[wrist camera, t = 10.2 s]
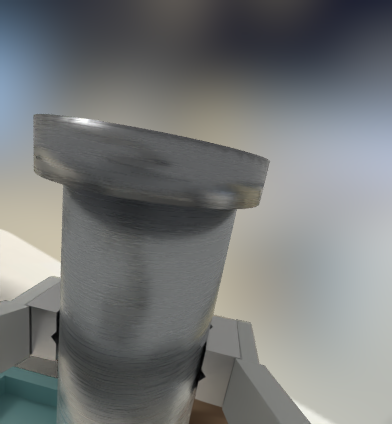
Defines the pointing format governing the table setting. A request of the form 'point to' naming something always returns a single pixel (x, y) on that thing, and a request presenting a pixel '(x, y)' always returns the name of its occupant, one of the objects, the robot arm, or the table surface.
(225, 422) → the bracket
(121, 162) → the pin
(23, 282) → the table surface
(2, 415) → the tray
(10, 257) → the table surface
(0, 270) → the table surface
